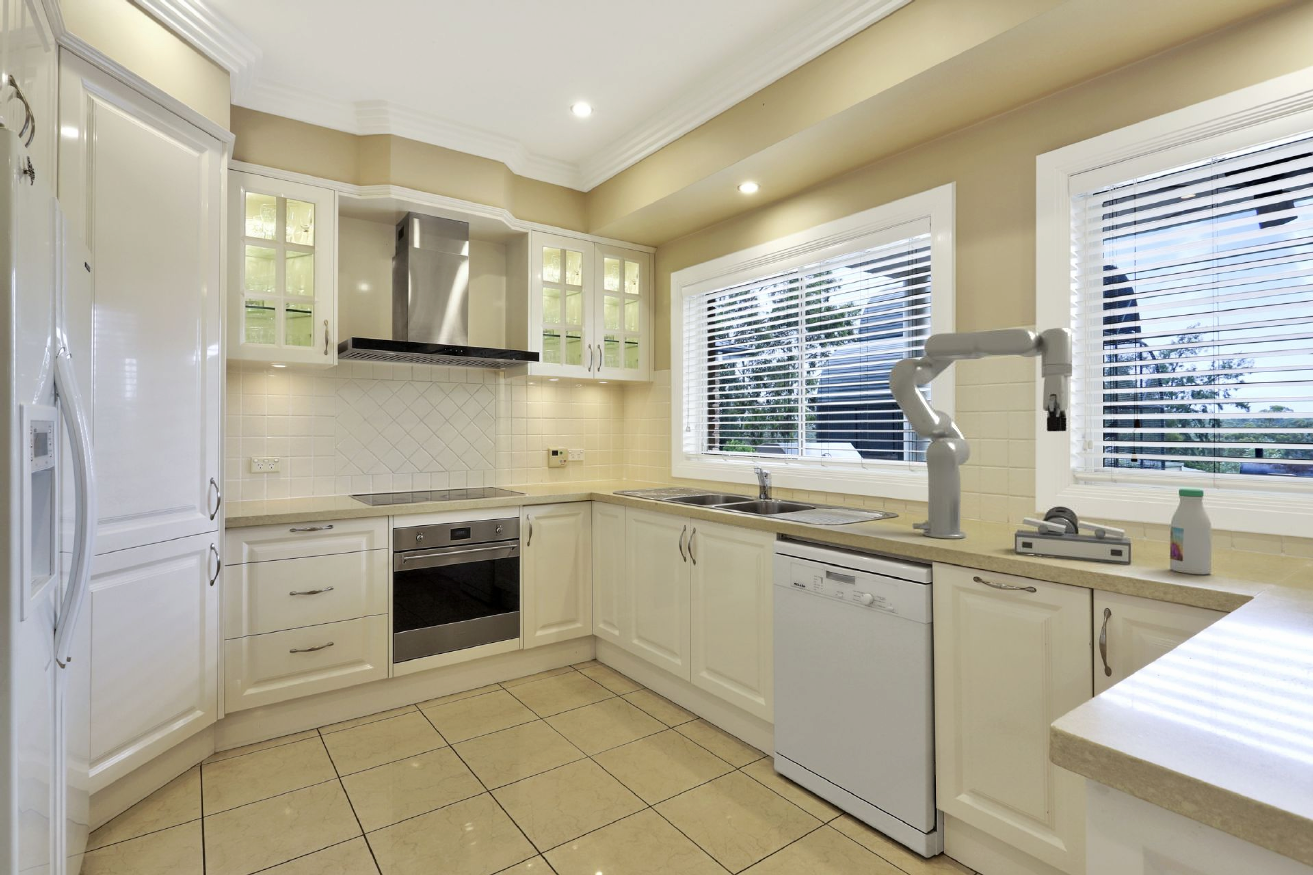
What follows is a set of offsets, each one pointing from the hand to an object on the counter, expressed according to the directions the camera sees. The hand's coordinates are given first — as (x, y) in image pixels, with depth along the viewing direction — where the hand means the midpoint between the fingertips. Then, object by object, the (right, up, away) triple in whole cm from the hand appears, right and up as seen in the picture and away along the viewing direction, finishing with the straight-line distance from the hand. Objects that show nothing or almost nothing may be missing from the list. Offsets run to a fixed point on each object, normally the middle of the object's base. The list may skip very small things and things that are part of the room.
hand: (1056, 431), depth 188 cm
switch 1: (-8, -28, -6) cm, 30 cm away
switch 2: (+3, -28, -13) cm, 31 cm away
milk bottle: (+14, -35, -30) cm, 48 cm away
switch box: (-3, -34, -11) cm, 36 cm away
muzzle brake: (+6, -34, +8) cm, 35 cm away
